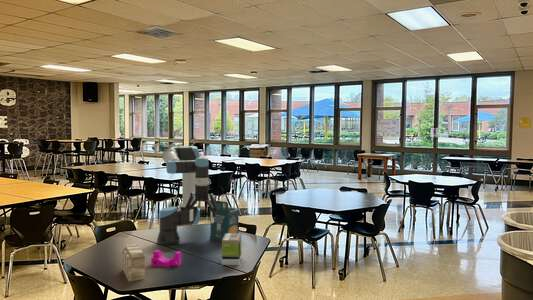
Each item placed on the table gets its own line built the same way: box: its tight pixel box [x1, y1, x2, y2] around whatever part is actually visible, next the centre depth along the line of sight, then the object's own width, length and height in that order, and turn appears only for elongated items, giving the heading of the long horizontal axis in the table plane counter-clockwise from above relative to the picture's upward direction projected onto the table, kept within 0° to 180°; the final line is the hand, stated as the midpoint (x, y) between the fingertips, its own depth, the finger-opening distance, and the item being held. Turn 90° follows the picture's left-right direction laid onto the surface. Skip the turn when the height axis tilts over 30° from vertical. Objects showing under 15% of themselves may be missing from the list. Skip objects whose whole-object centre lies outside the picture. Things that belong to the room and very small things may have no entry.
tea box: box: [221, 232, 242, 266], centre depth 233 cm, size 15×10×15 cm, turn 178°
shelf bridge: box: [122, 243, 146, 282], centre depth 210 cm, size 18×8×14 cm, turn 28°
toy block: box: [150, 249, 182, 268], centre depth 225 cm, size 15×6×8 cm, turn 79°
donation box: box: [209, 199, 240, 243], centre depth 280 cm, size 16×16×28 cm
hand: (201, 221), depth 230 cm, fingers open, 13 cm apart
